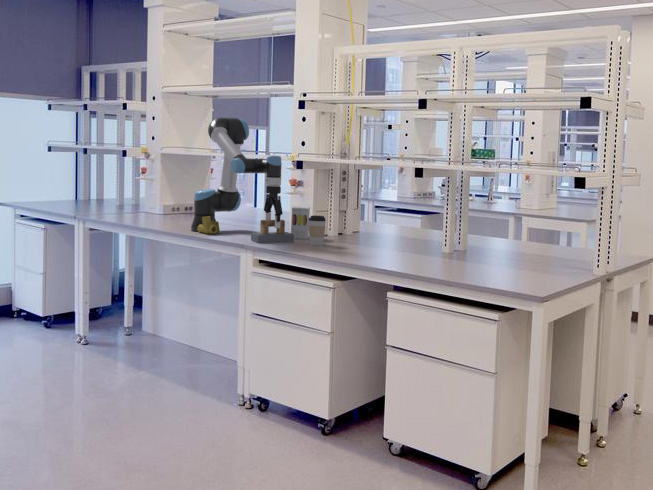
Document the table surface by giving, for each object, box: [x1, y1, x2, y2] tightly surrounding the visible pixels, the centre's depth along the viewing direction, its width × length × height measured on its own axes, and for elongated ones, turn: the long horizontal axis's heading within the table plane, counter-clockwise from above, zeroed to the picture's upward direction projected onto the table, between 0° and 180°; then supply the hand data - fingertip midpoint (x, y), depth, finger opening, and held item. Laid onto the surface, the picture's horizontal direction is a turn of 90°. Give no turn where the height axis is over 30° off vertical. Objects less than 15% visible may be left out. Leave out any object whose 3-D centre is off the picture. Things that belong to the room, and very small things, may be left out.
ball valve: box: [197, 216, 221, 235], centre depth 402 cm, size 13×10×10 cm
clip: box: [259, 219, 286, 235], centre depth 379 cm, size 12×4×11 cm, turn 116°
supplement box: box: [290, 205, 311, 240], centre depth 396 cm, size 10×9×17 cm
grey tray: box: [250, 231, 295, 244], centre depth 379 cm, size 20×10×4 cm, turn 116°
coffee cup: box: [309, 215, 327, 246], centre depth 372 cm, size 9×9×15 cm
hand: (272, 226), depth 379 cm, fingers open, 13 cm apart
